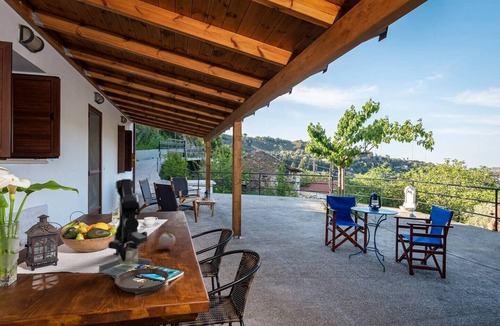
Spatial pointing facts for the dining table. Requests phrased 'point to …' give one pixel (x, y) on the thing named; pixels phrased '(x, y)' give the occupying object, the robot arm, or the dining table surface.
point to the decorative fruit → (167, 240)
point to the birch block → (130, 257)
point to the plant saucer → (130, 285)
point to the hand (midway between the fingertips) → (128, 259)
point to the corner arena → (121, 267)
